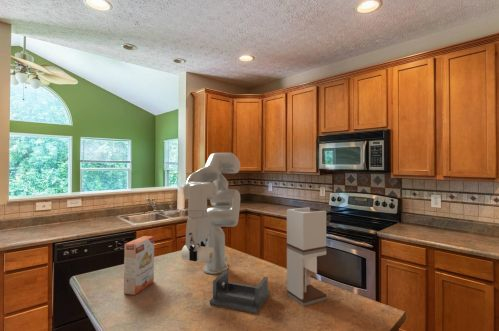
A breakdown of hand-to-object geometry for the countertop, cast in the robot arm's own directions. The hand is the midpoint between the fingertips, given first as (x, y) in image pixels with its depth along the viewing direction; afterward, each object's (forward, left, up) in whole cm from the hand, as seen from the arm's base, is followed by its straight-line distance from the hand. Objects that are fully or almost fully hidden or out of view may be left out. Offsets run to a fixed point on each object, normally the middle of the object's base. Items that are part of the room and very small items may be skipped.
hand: (197, 257), depth 111 cm
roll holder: (-3, +17, -15) cm, 24 cm away
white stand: (-14, +41, -16) cm, 47 cm away
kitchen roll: (0, 0, +2) cm, 2 cm away
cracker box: (+3, -28, -16) cm, 32 cm away
